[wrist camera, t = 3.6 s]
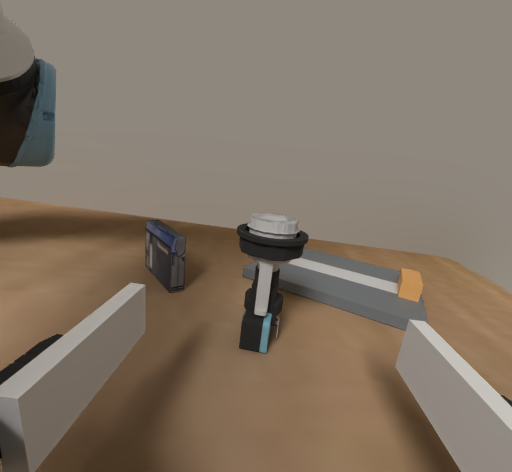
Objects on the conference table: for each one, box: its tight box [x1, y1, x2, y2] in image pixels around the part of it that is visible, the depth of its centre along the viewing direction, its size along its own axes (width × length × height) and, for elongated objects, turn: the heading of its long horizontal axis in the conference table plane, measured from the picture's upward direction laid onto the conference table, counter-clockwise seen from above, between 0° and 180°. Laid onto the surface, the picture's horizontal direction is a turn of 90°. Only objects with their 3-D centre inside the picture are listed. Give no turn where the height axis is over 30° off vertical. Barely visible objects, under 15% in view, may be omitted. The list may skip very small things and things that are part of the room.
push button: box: [237, 213, 308, 353], centre depth 21 cm, size 7×5×10 cm
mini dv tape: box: [146, 220, 186, 293], centre depth 29 cm, size 8×2×6 cm, turn 39°
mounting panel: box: [243, 248, 428, 331], centre depth 34 cm, size 20×15×3 cm
